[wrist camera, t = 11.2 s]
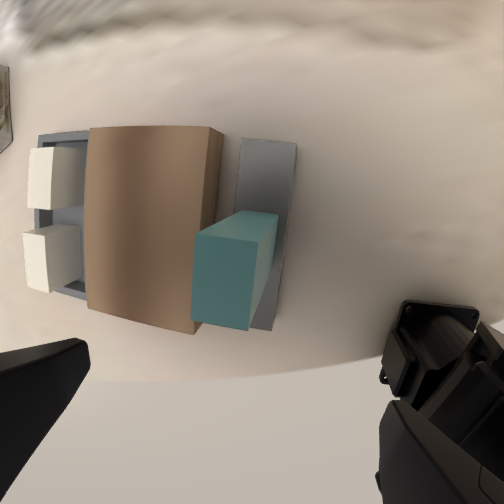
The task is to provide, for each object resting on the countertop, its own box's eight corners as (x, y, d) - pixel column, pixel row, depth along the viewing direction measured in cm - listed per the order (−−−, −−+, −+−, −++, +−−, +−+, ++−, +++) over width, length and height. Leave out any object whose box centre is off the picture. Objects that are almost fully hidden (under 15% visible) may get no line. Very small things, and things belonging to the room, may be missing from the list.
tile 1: (53, 146, 16) (30, 148, 16) (50, 209, 17) (27, 207, 17) (90, 149, 20) (66, 150, 20) (86, 203, 21) (63, 201, 21)
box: (112, 133, 20) (95, 130, 18) (106, 293, 22) (92, 302, 21) (55, 136, 20) (38, 135, 18) (53, 279, 23) (38, 286, 21)
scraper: (297, 147, 18) (290, 111, 9) (274, 317, 21) (249, 418, 11) (248, 142, 19) (192, 106, 9) (230, 310, 21) (177, 402, 12)
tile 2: (44, 235, 17) (22, 232, 18) (49, 293, 18) (27, 286, 19) (79, 226, 21) (57, 223, 22) (82, 276, 22) (60, 272, 22)
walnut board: (223, 134, 19) (209, 126, 16) (207, 315, 21) (193, 335, 19) (115, 132, 20) (90, 128, 17) (109, 294, 22) (87, 308, 20)
